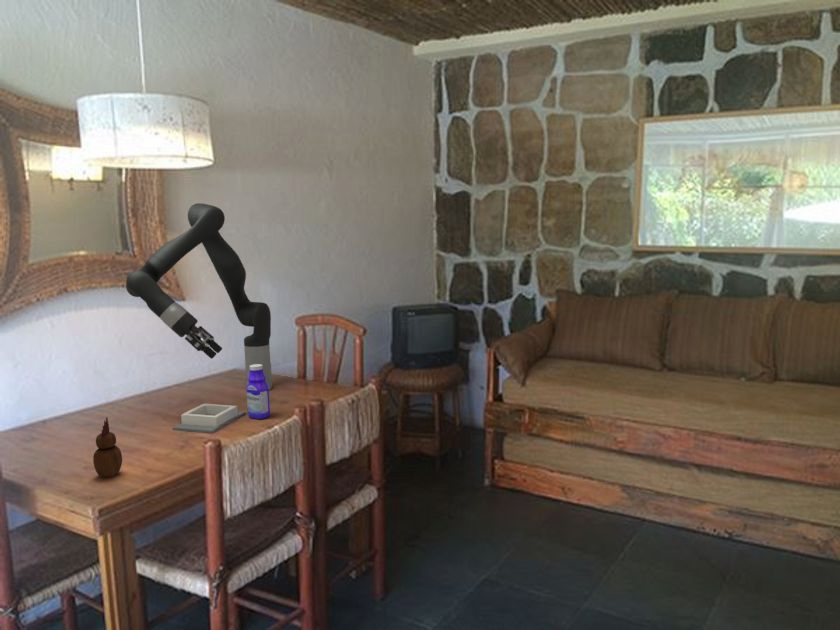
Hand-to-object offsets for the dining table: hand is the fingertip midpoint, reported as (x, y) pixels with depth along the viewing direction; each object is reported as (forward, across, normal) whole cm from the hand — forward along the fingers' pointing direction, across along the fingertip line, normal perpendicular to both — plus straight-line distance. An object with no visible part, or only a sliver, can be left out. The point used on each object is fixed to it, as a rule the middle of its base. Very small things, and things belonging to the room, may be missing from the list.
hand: (217, 353), depth 217 cm
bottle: (+24, 0, +7) cm, 25 cm away
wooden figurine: (+2, -45, +29) cm, 54 cm away
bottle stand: (+13, -3, +17) cm, 22 cm away
